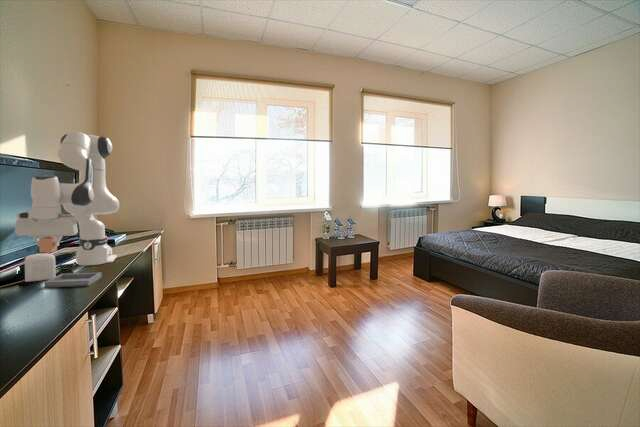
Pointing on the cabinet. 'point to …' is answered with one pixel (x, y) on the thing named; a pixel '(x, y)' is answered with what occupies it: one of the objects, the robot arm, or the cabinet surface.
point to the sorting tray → (73, 280)
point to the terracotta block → (47, 244)
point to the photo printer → (39, 267)
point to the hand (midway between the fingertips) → (48, 245)
